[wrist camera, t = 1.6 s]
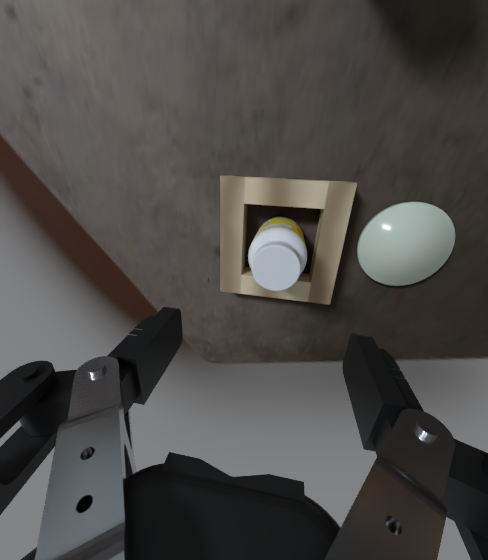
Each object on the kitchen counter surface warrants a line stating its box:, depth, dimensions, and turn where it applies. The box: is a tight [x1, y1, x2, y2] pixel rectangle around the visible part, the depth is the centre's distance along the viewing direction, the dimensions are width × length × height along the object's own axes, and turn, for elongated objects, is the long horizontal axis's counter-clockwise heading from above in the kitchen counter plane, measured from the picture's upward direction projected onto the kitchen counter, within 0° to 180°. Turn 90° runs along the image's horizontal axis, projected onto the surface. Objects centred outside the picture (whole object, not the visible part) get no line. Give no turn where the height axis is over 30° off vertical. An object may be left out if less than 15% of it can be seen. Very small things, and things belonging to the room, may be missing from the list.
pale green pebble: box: [356, 202, 455, 286], centre depth 25 cm, size 9×9×1 cm
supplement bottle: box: [248, 217, 307, 291], centre depth 24 cm, size 5×5×10 cm
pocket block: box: [220, 176, 357, 305], centre depth 27 cm, size 13×13×2 cm
